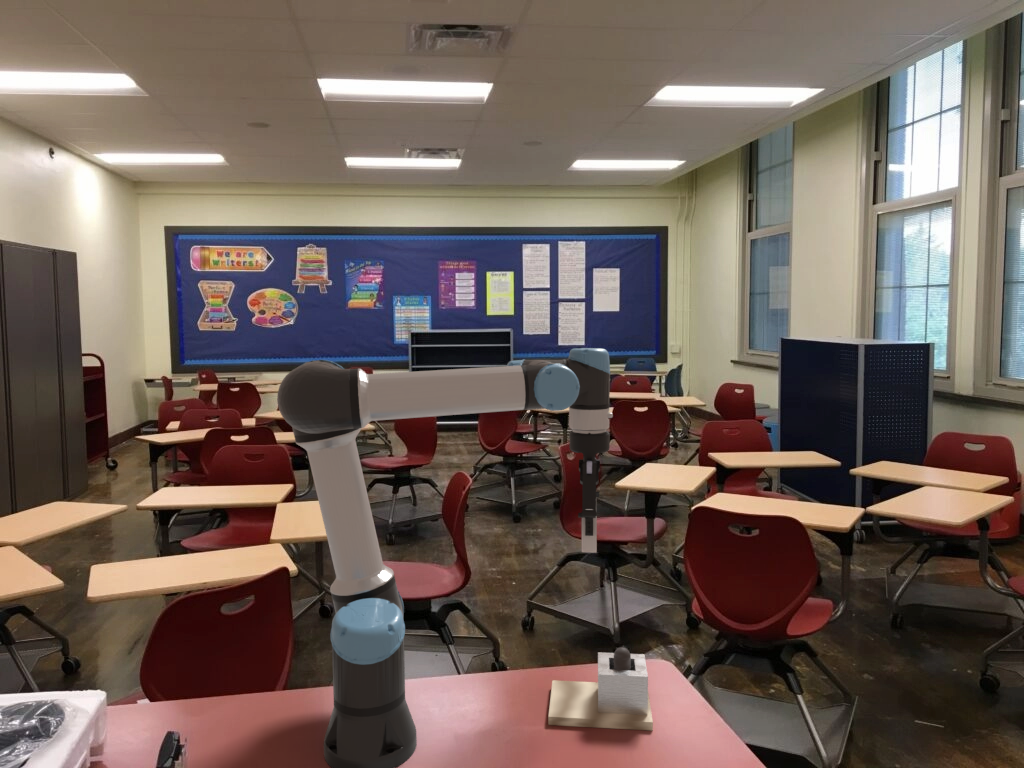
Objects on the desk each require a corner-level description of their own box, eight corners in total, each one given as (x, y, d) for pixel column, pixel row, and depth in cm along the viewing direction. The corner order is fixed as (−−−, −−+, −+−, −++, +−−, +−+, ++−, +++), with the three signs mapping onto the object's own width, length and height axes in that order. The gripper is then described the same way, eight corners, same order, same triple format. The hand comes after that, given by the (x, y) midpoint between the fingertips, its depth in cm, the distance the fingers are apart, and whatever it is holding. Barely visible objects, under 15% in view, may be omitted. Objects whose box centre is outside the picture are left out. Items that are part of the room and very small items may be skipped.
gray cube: (598, 712, 128) (598, 674, 127) (597, 688, 136) (598, 652, 135) (647, 715, 127) (647, 676, 126) (644, 690, 135) (644, 654, 134)
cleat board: (548, 724, 126) (548, 661, 125) (552, 687, 139) (552, 630, 138) (652, 730, 124) (653, 666, 123) (647, 692, 137) (647, 633, 136)
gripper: (611, 441, 123) (610, 562, 125) (608, 421, 148) (607, 523, 150) (567, 440, 124) (567, 561, 126) (571, 421, 149) (571, 522, 150)
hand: (589, 540), depth 138 cm, fingers open, 13 cm apart
